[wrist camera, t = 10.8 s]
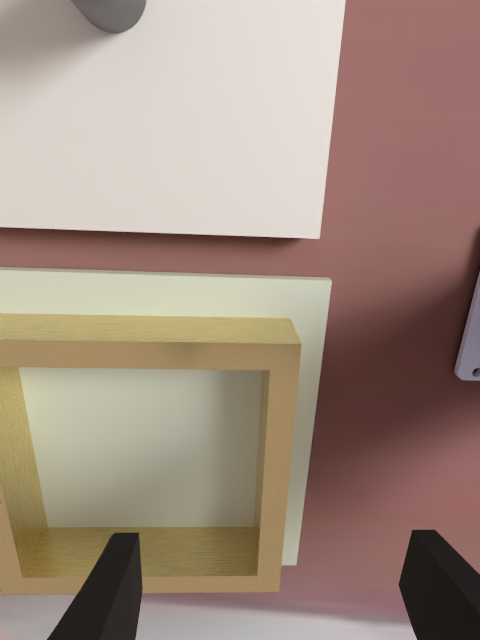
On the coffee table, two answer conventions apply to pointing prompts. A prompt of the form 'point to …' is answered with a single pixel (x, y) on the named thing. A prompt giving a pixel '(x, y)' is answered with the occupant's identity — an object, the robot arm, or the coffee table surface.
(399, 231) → the coffee table surface
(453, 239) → the coffee table surface
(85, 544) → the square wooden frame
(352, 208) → the coffee table surface
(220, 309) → the mat
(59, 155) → the post stand
